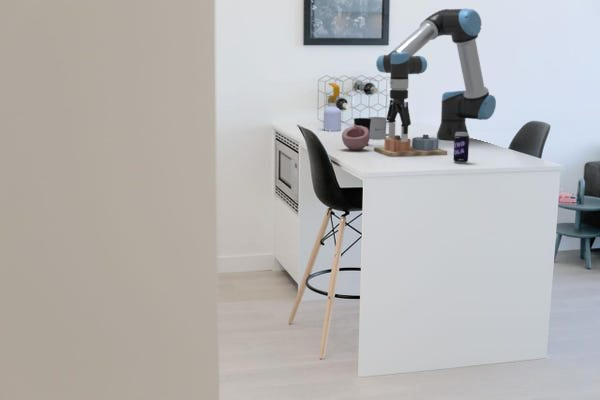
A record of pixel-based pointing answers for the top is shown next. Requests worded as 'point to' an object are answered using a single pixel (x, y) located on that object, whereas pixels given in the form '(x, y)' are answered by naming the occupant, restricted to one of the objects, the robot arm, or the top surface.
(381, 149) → the gear board
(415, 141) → the seated gear
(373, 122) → the mug
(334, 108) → the soap bottle
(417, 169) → the top surface
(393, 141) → the loose gear
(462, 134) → the beverage can
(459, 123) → the robot arm
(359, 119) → the cup
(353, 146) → the mortar and pestle
